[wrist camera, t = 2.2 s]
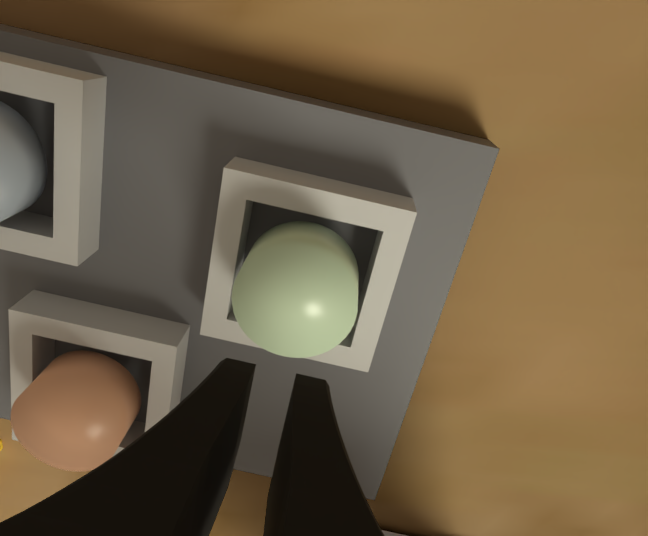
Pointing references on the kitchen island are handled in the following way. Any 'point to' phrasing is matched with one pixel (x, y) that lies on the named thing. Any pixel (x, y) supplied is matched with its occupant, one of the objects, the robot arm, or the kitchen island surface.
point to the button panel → (222, 235)
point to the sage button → (297, 290)
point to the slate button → (19, 163)
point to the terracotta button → (76, 411)
